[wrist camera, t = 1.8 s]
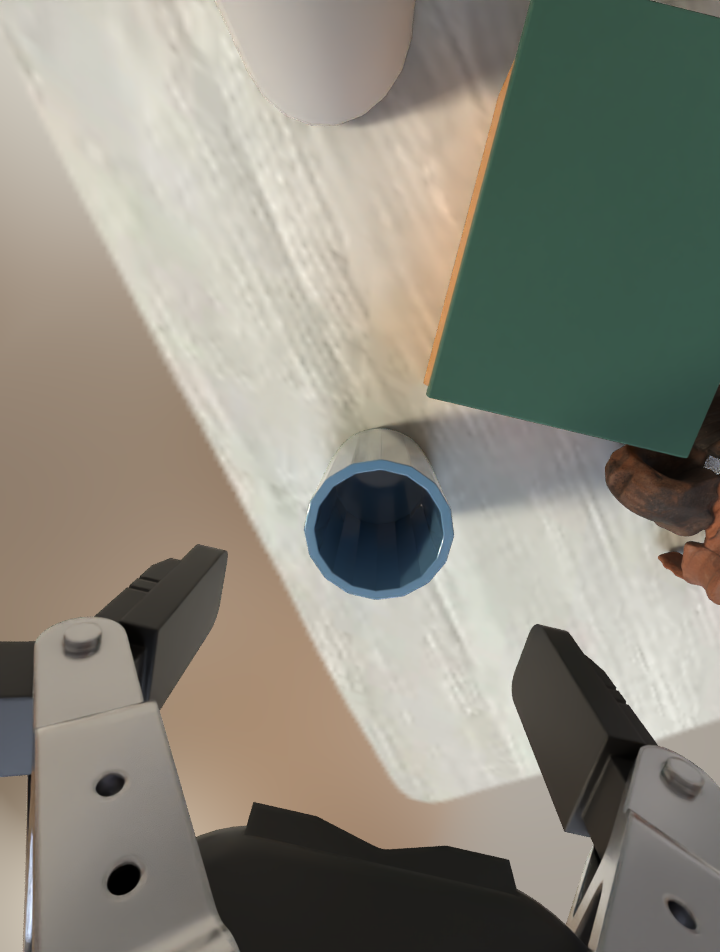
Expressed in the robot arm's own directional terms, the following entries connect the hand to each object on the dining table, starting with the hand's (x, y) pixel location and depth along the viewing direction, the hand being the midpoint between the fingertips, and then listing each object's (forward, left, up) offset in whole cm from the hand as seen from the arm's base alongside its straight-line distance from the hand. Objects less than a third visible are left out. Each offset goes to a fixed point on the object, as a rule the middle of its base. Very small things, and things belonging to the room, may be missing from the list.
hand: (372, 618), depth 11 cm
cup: (0, 0, -14) cm, 14 cm away
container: (-12, +6, -14) cm, 19 cm away
